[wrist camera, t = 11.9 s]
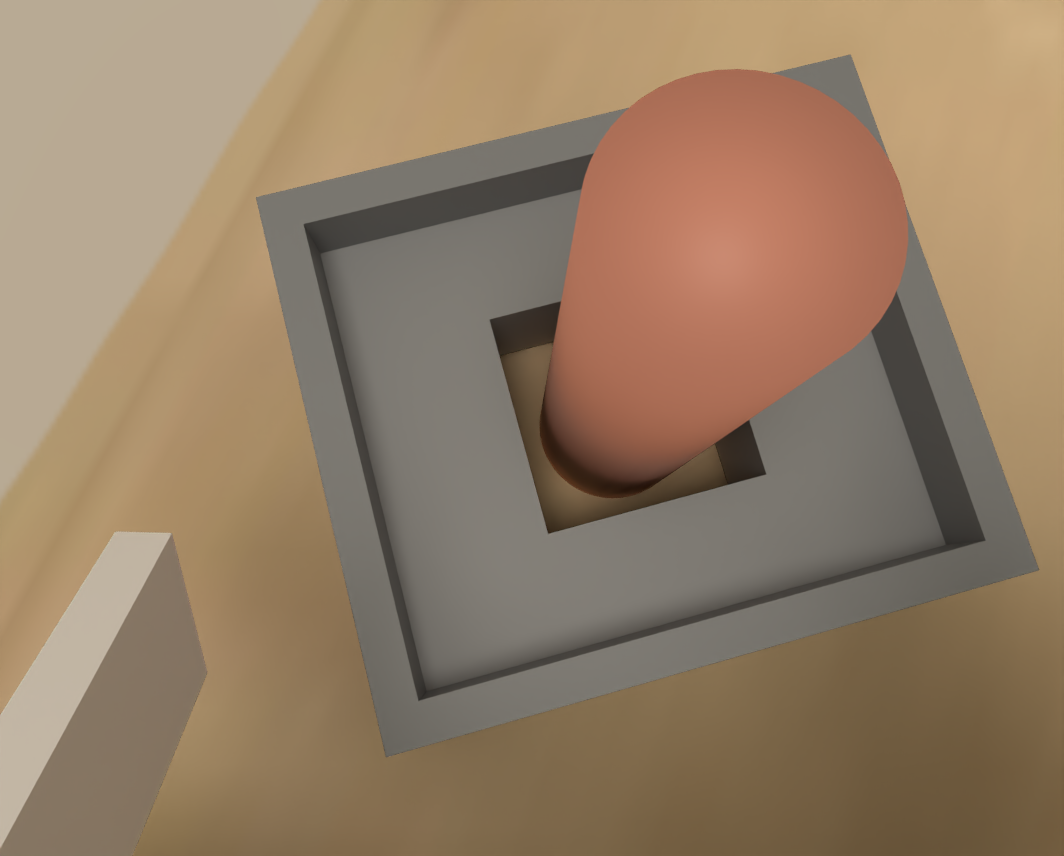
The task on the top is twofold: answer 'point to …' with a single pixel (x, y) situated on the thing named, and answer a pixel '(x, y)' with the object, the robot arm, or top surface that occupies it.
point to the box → (619, 541)
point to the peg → (713, 271)
